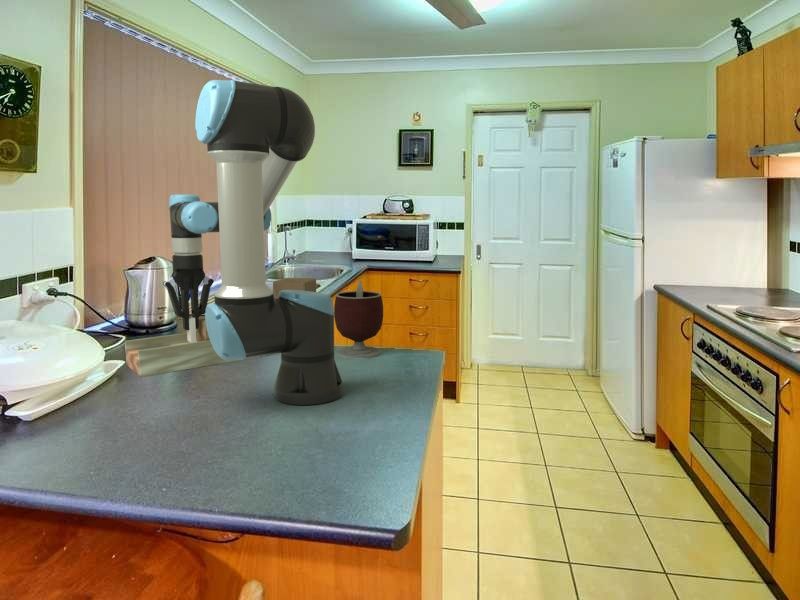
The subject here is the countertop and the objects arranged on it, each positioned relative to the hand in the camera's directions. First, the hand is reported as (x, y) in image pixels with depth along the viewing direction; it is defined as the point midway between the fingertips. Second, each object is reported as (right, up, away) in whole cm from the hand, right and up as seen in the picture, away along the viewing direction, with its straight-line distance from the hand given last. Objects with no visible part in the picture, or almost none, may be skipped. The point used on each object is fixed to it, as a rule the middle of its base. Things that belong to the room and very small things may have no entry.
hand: (191, 341), depth 154 cm
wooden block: (+25, -3, +19) cm, 31 cm away
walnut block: (+5, -1, +4) cm, 6 cm away
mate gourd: (+44, -4, +10) cm, 46 cm away
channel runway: (+1, -5, +2) cm, 6 cm away
